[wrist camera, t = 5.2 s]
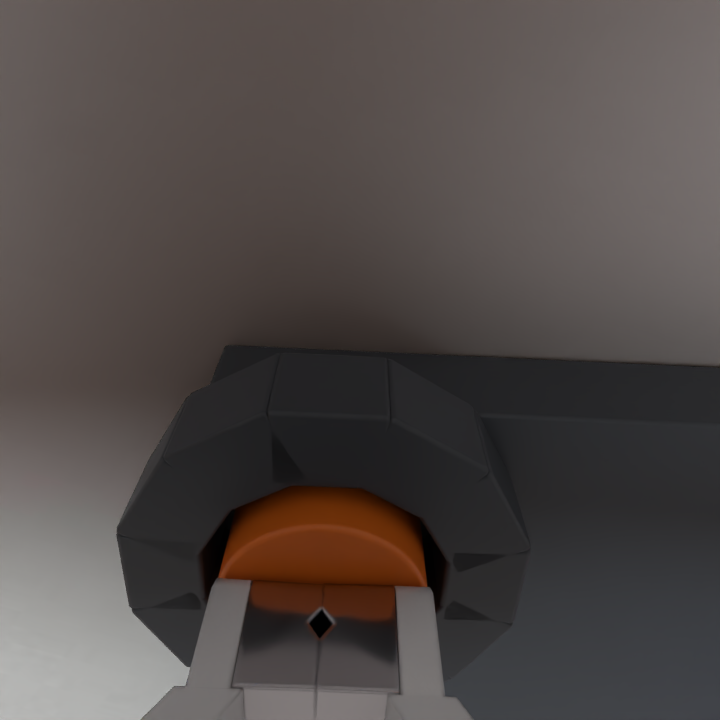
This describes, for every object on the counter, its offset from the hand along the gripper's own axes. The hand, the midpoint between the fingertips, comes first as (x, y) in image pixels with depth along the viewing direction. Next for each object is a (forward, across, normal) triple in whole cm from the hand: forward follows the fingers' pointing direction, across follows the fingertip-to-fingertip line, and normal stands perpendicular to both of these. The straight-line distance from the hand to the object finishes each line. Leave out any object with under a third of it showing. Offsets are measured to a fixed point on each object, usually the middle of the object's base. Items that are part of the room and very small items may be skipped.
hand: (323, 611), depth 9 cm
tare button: (+1, 0, 0) cm, 1 cm away
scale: (+4, -4, +5) cm, 7 cm away
